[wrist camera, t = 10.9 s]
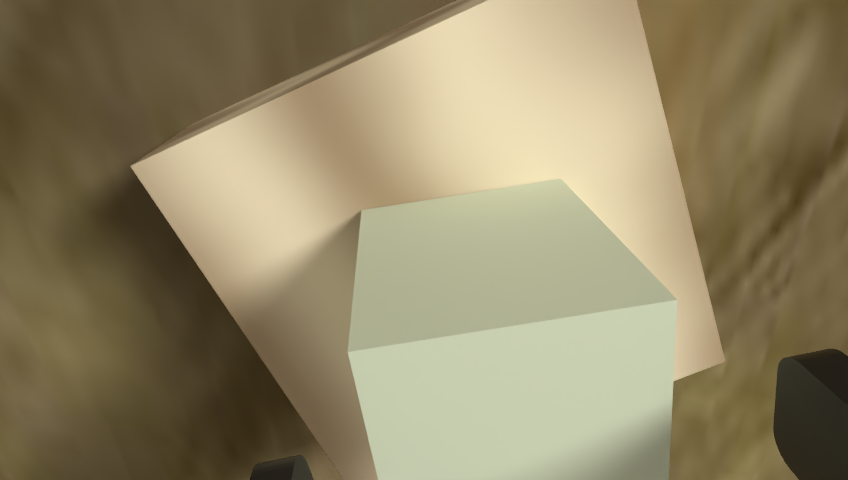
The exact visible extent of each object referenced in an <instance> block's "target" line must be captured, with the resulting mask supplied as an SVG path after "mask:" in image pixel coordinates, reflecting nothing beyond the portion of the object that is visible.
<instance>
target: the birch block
mask: <svg viewBox="0 0 848 480" xmlns="http://www.w3.org/2000/svg"><path fill="white" fill-rule="evenodd" d="M131 168H132V169H133V171H134V172H135V174H136V175H137V177H138V178H139V180H140V181H141V183H142V184H143V186H144V187H145V189H146V190H147V191H148V193H149V194H150V196H151V197H152V199H153V200H154V202H155V203H156V205H157V206H158V208H159V209H160V211H161V212H162V214H163V215H164V217H165V218H166V219H167V221H168V222H169V224H170V225H171V227H172V228H173V230H174V231H175V233H176V234H177V236H178V237H179V239H180V240H181V242H182V243H183V244H184V246H185V247H186V249H187V250H188V252H189V253H190V255H191V256H192V258H193V259H194V261H195V262H196V264H197V265H198V267H199V268H200V269H201V271H202V272H203V274H204V275H205V277H206V278H207V280H208V281H209V283H210V284H211V286H212V287H213V289H214V290H215V292H216V293H217V294H218V296H219V297H220V299H221V300H222V302H223V303H224V305H225V306H226V308H227V309H228V311H229V312H230V314H231V315H232V317H233V318H234V319H235V321H236V322H237V324H238V325H239V327H240V328H241V330H242V331H243V333H244V334H245V336H246V337H247V339H248V340H249V342H250V343H251V344H252V346H253V347H254V349H255V350H256V352H257V353H258V355H259V356H260V358H261V359H262V361H263V362H264V364H265V365H266V367H267V368H268V369H269V371H270V372H271V374H272V375H273V377H274V378H275V380H276V381H277V383H278V384H279V386H280V387H281V389H282V390H283V392H284V393H285V394H286V396H287V397H288V399H289V400H290V402H291V403H292V405H293V406H294V408H295V409H296V411H297V412H298V414H299V415H300V417H301V418H302V419H303V421H304V422H305V424H306V425H307V427H308V428H309V430H310V431H311V433H312V434H313V436H314V437H315V439H316V440H317V442H318V443H319V445H320V446H321V447H322V449H323V450H324V452H325V453H326V455H327V456H328V458H329V459H330V461H331V462H332V464H333V465H334V467H335V468H336V470H337V471H338V472H339V474H340V475H341V477H342V478H343V480H378V477H377V473H376V469H375V465H374V461H373V456H372V452H371V448H370V444H369V440H368V435H367V431H366V427H365V423H364V419H363V414H362V410H361V406H360V402H359V398H358V393H357V389H356V385H355V381H354V377H353V373H352V368H351V364H350V360H349V356H348V343H349V333H350V323H351V312H352V302H353V292H354V282H355V271H356V261H357V251H358V240H359V230H360V220H361V210H366V209H372V208H379V207H385V206H392V205H398V204H404V203H411V202H417V201H423V200H430V199H436V198H442V197H449V196H455V195H461V194H468V193H474V192H481V191H487V190H493V189H500V188H506V187H512V186H519V185H525V184H531V183H538V182H544V181H550V180H557V179H562V180H563V181H564V182H565V183H566V184H567V185H568V186H569V187H570V189H571V190H572V191H573V192H574V193H575V194H576V195H577V196H578V197H579V198H580V199H581V200H582V201H583V202H584V203H585V204H586V205H587V206H588V207H589V208H590V209H591V210H592V211H593V212H594V214H595V215H596V216H597V217H598V218H599V219H600V220H601V221H602V222H603V223H604V224H605V225H606V226H607V227H608V228H609V229H610V230H611V231H612V232H613V233H614V234H615V235H616V236H617V237H618V239H619V240H620V241H621V242H622V243H623V244H624V245H625V246H626V247H627V248H628V249H629V250H630V251H631V252H632V253H633V254H634V255H635V256H636V257H637V258H638V259H639V260H640V261H641V262H642V263H643V265H644V266H645V267H646V268H647V269H648V270H649V271H650V272H651V273H652V274H653V275H654V276H655V277H656V278H657V279H658V280H659V281H660V282H661V283H662V284H663V285H664V286H665V287H666V288H667V290H668V291H669V292H670V293H671V294H672V295H673V296H674V297H675V298H676V299H677V318H676V338H675V358H674V377H673V381H675V380H678V379H680V378H683V377H686V376H688V375H691V374H693V373H696V372H699V371H701V370H704V369H707V368H709V367H712V366H715V365H717V364H720V363H723V362H725V359H724V355H723V351H722V347H721V342H720V338H719V334H718V330H717V326H716V322H715V318H714V314H713V310H712V306H711V302H710V298H709V294H708V289H707V285H706V281H705V277H704V273H703V269H702V265H701V261H700V257H699V253H698V249H697V245H696V241H695V237H694V232H693V228H692V224H691V220H690V216H689V212H688V208H687V204H686V200H685V196H684V192H683V188H682V184H681V179H680V175H679V171H678V167H677V163H676V159H675V155H674V151H673V147H672V143H671V139H670V135H669V131H668V127H667V122H666V118H665V114H664V110H663V106H662V102H661V98H660V94H659V90H658V86H657V82H656V78H655V74H654V69H653V65H652V61H651V57H650V53H649V49H648V45H647V41H646V37H645V33H644V29H643V25H642V21H641V16H640V12H639V8H638V4H637V0H457V1H455V2H453V3H450V4H448V5H446V6H444V7H442V8H440V9H438V10H435V11H433V12H431V13H429V14H427V15H425V16H422V17H420V18H418V19H416V20H414V21H412V22H410V23H407V24H405V25H403V26H401V27H399V28H397V29H395V30H392V31H390V32H388V33H386V34H384V35H382V36H380V37H377V38H375V39H373V40H371V41H369V42H367V43H365V44H362V45H360V46H358V47H356V48H354V49H352V50H350V51H347V52H345V53H343V54H341V55H339V56H337V57H335V58H332V59H330V60H328V61H326V62H324V63H322V64H320V65H317V66H315V67H313V68H311V69H309V70H307V71H305V72H302V73H300V74H298V75H296V76H294V77H292V78H290V79H287V80H285V81H283V82H281V83H279V84H277V85H275V86H272V87H270V88H268V89H266V90H264V91H262V92H260V93H257V94H255V95H253V96H251V97H249V98H247V99H245V100H242V101H240V102H238V103H236V104H234V105H232V106H230V107H227V108H225V109H223V110H221V111H219V112H217V113H215V114H212V115H210V116H208V117H206V118H204V119H202V120H200V121H197V122H195V123H193V124H191V125H189V126H188V127H187V128H185V129H184V130H182V131H181V132H179V133H178V134H176V135H175V136H173V137H172V138H170V139H169V140H168V141H166V142H165V143H163V144H162V145H160V146H159V147H157V148H156V149H154V150H153V151H152V152H150V153H149V154H147V155H146V156H144V157H143V158H141V159H140V160H138V161H137V162H136V163H134V164H133V165H131Z"/></svg>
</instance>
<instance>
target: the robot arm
mask: <svg viewBox="0 0 848 480" xmlns="http://www.w3.org/2000/svg"><path fill="white" fill-rule="evenodd" d="M774 437H775V441H776V444H777V447H778V449H779V452H780V454H781V456H782V457H783V459H784V461H785V462H786V464H787V465H788V467H789V468H790V469H791V471H792V472H793V473H794V474H795V475H796V476H797V478H798V479H799V480H848V356H847V355H845V354H844V353H842V352H841V351H839V350H836V349H826V350H821V351H816V352H811V353H806V354H801V355H796V356H791V357H787V358H783V359H782V360H781V361H780V363H779V365H778V372H777V386H776V399H775V413H774ZM250 480H313V477H312V474H311V472H310V469H309V467H308V464H307V462H306V460H305V458H304V457H303V456H302V455H297V456H293V457H288V458H283V459H278V460H273V461H268V462H263V463H258V464H256V466H255V467H254V469H253V471H252V474H251V477H250Z"/></svg>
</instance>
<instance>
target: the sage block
mask: <svg viewBox="0 0 848 480" xmlns="http://www.w3.org/2000/svg"><path fill="white" fill-rule="evenodd" d="M676 318H677V299H676V298H675V297H674V296H673V295H672V294H671V293H670V292H669V291H668V290H667V288H666V287H665V286H664V285H663V284H662V283H661V282H660V281H659V280H658V279H657V278H656V277H655V276H654V275H653V274H652V273H651V272H650V271H649V270H648V269H647V268H646V267H645V266H644V265H643V263H642V262H641V261H640V260H639V259H638V258H637V257H636V256H635V255H634V254H633V253H632V252H631V251H630V250H629V249H628V248H627V247H626V246H625V245H624V244H623V243H622V242H621V241H620V240H619V239H618V237H617V236H616V235H615V234H614V233H613V232H612V231H611V230H610V229H609V228H608V227H607V226H606V225H605V224H604V223H603V222H602V221H601V220H600V219H599V218H598V217H597V216H596V215H595V214H594V212H593V211H592V210H591V209H590V208H589V207H588V206H587V205H586V204H585V203H584V202H583V201H582V200H581V199H580V198H579V197H578V196H577V195H576V194H575V193H574V192H573V191H572V190H571V189H570V187H569V186H568V185H567V184H566V183H565V182H564V181H563V180H562V179H557V180H550V181H544V182H538V183H531V184H525V185H519V186H512V187H506V188H500V189H493V190H487V191H481V192H474V193H468V194H461V195H455V196H449V197H442V198H436V199H430V200H423V201H417V202H411V203H404V204H398V205H392V206H385V207H379V208H372V209H366V210H361V220H360V230H359V240H358V251H357V261H356V271H355V282H354V292H353V302H352V312H351V323H350V333H349V343H348V356H349V360H350V364H351V368H352V373H353V377H354V381H355V385H356V389H357V393H358V398H359V402H360V406H361V410H362V414H363V419H364V423H365V427H366V431H367V435H368V440H369V444H370V448H371V452H372V456H373V461H374V465H375V469H376V473H377V477H378V480H668V477H669V457H670V437H671V417H672V397H673V377H674V358H675V338H676Z"/></svg>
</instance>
